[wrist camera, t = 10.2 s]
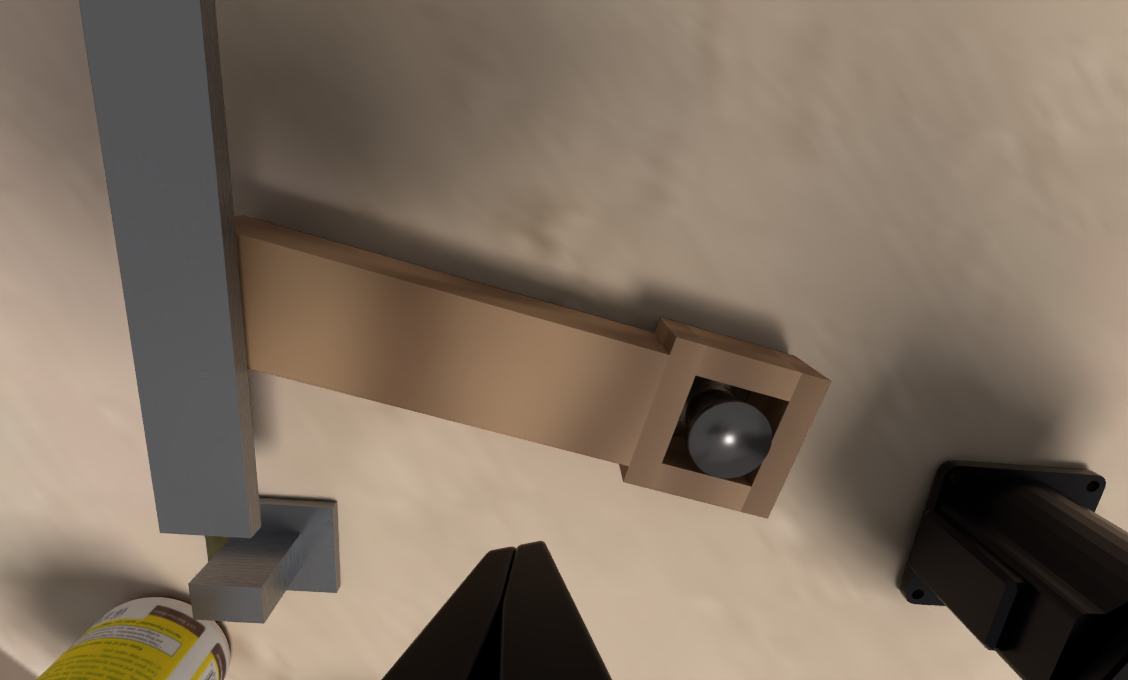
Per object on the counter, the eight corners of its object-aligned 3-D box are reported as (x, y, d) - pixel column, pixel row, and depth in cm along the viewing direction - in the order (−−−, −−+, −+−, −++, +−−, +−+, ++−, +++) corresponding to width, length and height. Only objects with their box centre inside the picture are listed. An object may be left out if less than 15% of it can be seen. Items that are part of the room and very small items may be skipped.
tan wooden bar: (794, 355, 19) (831, 381, 16) (741, 477, 20) (767, 518, 18) (245, 197, 17) (192, 199, 15) (227, 344, 18) (176, 368, 16)
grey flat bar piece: (316, 16, 16) (244, -37, 12) (340, 585, 22) (295, 668, 18) (148, -1, 16) (21, -60, 12) (217, 578, 22) (146, 661, 18)
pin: (740, 368, 19) (779, 406, 16) (728, 431, 20) (763, 481, 17) (671, 363, 19) (695, 400, 16) (661, 427, 20) (683, 475, 17)
